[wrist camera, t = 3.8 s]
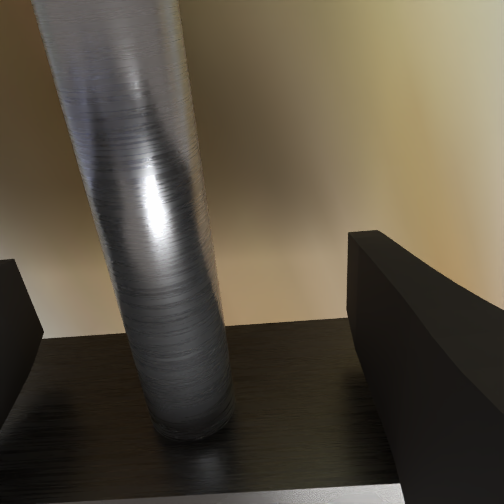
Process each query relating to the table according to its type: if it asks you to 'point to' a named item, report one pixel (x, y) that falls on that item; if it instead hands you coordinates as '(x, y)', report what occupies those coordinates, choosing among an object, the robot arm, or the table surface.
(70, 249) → the table surface
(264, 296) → the table surface
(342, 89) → the table surface
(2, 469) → the shaft
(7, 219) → the table surface
